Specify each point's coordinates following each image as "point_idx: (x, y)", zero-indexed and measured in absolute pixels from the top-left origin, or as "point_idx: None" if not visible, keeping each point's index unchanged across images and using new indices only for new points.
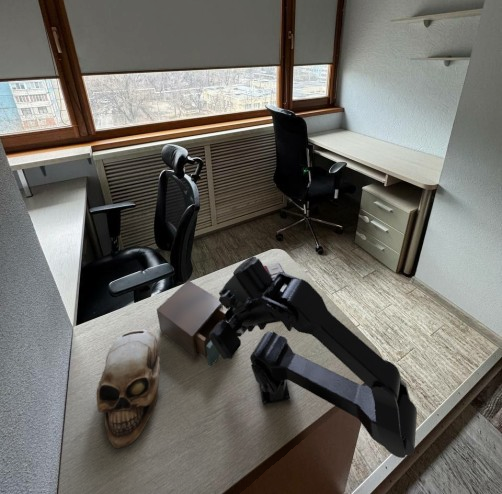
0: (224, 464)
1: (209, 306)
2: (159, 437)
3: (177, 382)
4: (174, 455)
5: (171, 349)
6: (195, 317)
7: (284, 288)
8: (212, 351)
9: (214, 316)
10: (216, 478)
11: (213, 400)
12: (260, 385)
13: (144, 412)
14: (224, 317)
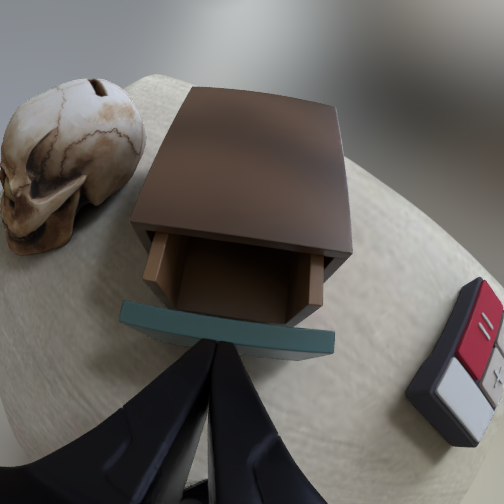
0: (32, 438)
1: (294, 211)
2: (21, 292)
3: (100, 267)
4: (11, 336)
5: None
6: (214, 186)
7: (482, 409)
8: (145, 332)
9: (295, 259)
10: (17, 426)
11: (96, 381)
12: (183, 492)
13: (33, 238)
14: (185, 355)
